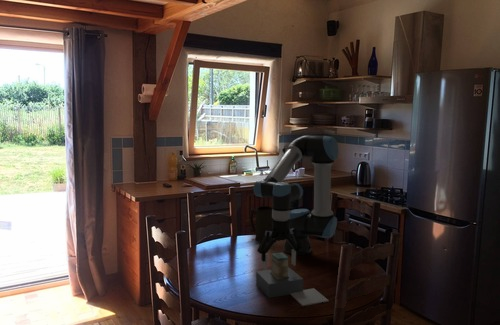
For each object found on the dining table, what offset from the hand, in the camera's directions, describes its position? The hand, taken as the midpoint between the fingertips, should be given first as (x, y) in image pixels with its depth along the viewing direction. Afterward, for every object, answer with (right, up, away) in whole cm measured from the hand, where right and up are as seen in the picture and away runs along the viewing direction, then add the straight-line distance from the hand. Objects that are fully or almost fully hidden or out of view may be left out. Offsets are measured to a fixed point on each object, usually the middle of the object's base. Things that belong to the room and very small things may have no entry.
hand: (279, 266), depth 178 cm
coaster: (+12, -11, -7) cm, 18 cm away
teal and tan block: (0, -10, +1) cm, 10 cm away
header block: (0, -10, +1) cm, 10 cm away
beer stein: (-7, -1, +68) cm, 68 cm away
